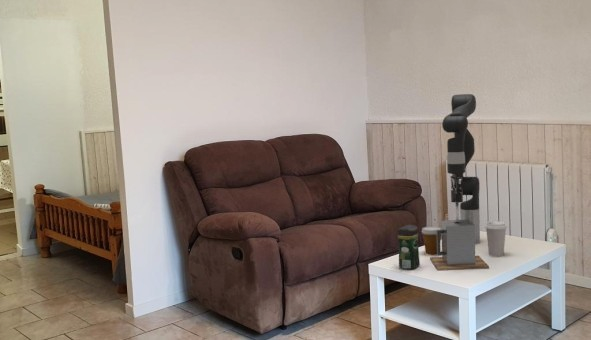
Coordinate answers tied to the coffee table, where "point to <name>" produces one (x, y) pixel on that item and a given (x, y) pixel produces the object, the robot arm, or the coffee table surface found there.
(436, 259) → the walnut board
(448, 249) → the silver block with slot
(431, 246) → the disposable coffee cup
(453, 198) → the plunger
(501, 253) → the coffee cup
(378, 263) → the coffee table surface
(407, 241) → the coffee jar
